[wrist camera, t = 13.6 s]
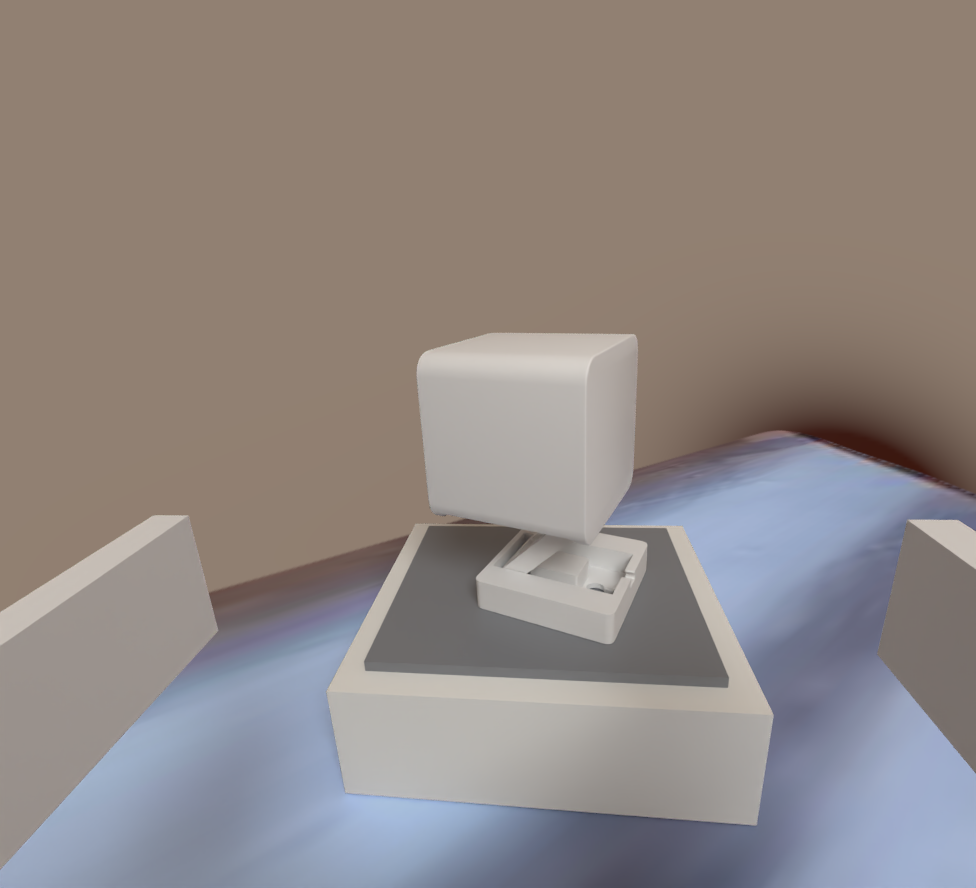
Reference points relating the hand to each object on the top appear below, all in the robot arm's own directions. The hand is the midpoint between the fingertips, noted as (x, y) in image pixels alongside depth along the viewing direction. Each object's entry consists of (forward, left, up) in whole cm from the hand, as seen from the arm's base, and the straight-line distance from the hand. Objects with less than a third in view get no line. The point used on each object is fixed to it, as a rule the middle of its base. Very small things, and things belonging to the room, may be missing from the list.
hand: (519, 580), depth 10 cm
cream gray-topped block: (0, +11, -12) cm, 16 cm away
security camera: (0, +11, -7) cm, 13 cm away
